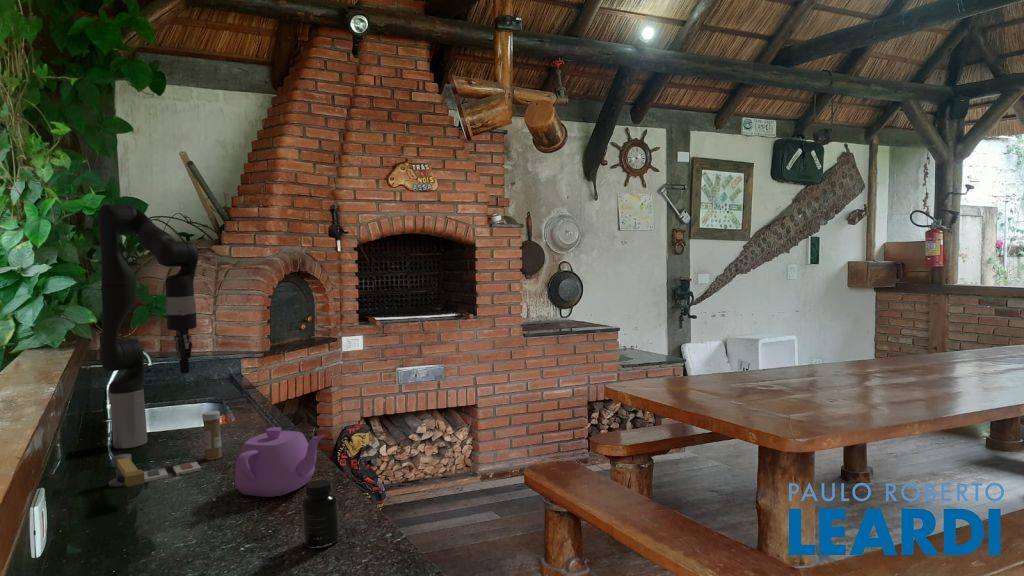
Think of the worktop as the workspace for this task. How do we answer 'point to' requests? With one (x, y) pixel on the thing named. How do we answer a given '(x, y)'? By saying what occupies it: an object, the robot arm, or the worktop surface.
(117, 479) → the post
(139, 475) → the swing bar
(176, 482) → the worktop surface
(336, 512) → the supplement bottle
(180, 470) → the label tile
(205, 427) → the sprinkles bottle
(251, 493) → the teapot
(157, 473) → the label tile
